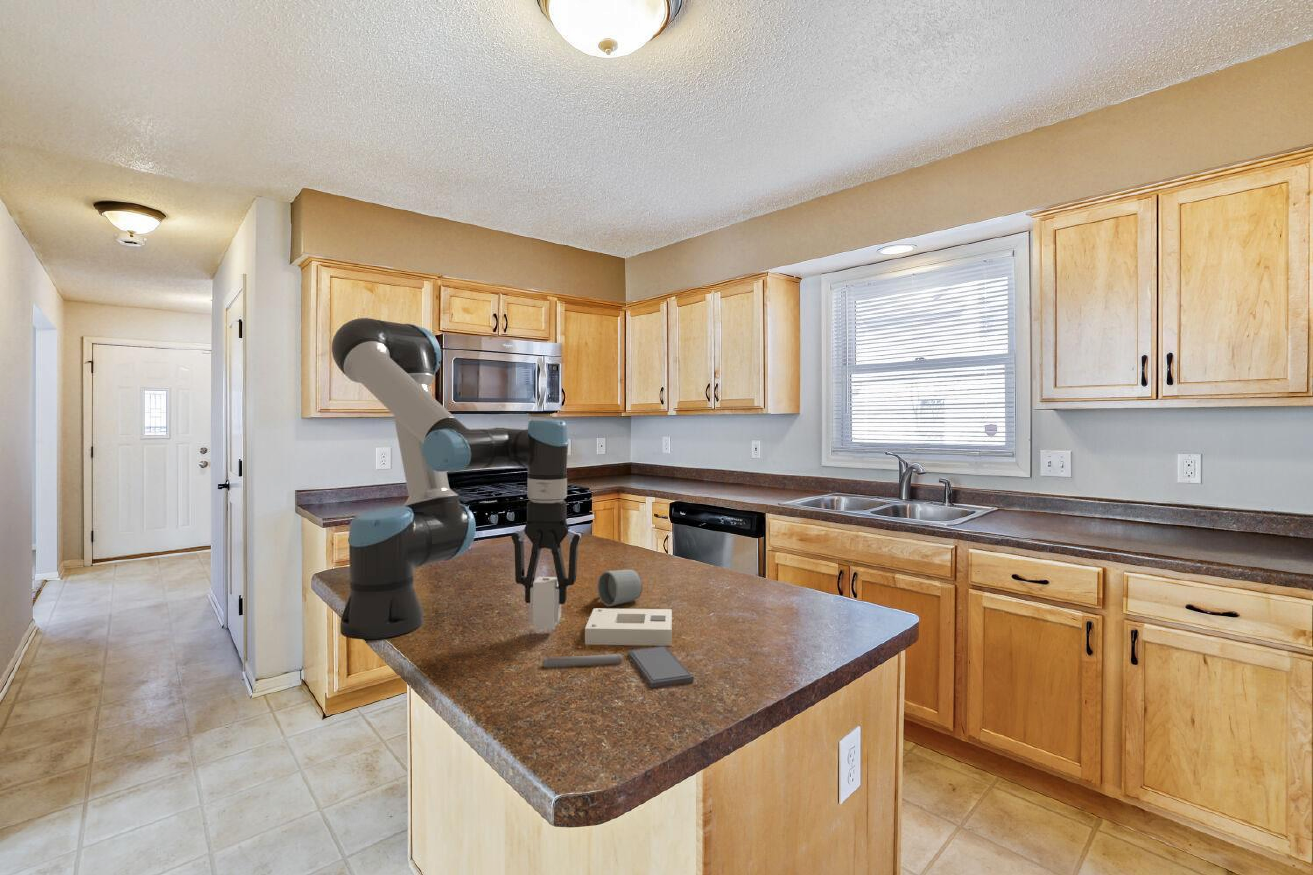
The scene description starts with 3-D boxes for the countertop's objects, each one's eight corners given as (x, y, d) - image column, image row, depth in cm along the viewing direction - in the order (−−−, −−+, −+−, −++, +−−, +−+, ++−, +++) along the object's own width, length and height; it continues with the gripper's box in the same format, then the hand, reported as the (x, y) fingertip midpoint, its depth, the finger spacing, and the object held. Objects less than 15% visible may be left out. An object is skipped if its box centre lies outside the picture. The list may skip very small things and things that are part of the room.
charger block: (532, 628, 117) (533, 581, 116) (537, 621, 121) (538, 575, 120) (553, 629, 117) (554, 581, 116) (557, 622, 121) (558, 576, 120)
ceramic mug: (645, 602, 139) (645, 569, 139) (616, 610, 134) (616, 575, 134) (617, 593, 147) (616, 561, 147) (589, 600, 142) (588, 567, 142)
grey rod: (542, 669, 102) (542, 660, 102) (542, 665, 104) (542, 656, 104) (623, 665, 104) (623, 655, 104) (622, 661, 106) (622, 652, 106)
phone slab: (651, 687, 95) (651, 682, 95) (627, 654, 108) (627, 649, 108) (693, 681, 97) (693, 676, 97) (665, 650, 110) (665, 645, 110)
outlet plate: (584, 644, 113) (584, 627, 113) (593, 622, 125) (593, 607, 125) (671, 645, 113) (671, 628, 113) (671, 623, 125) (671, 608, 125)
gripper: (497, 501, 114) (496, 624, 115) (588, 503, 114) (586, 627, 115) (508, 496, 122) (507, 611, 123) (593, 498, 121) (591, 614, 122)
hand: (545, 619), depth 119 cm, fingers closed on charger block, 4 cm apart
